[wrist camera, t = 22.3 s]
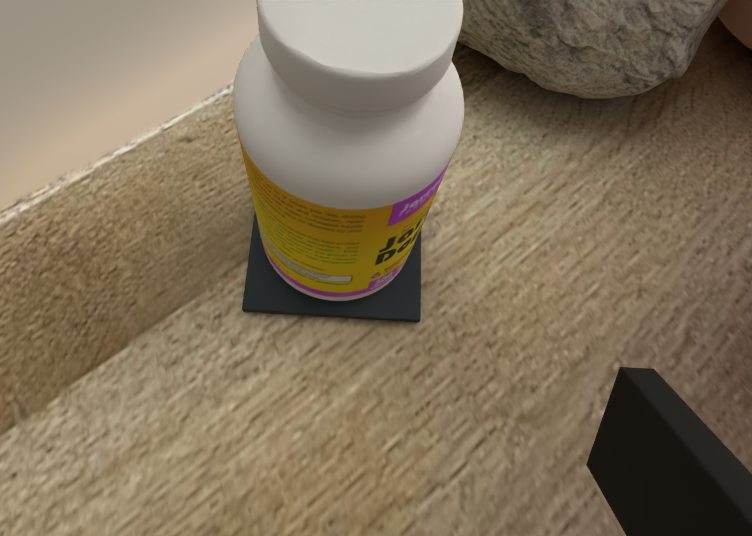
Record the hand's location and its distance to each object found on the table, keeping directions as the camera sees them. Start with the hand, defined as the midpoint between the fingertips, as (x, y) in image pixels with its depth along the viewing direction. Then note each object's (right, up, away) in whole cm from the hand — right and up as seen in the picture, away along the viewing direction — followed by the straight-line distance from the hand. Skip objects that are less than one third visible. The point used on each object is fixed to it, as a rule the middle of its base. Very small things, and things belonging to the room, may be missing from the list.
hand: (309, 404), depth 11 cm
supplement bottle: (0, +4, +13) cm, 13 cm away
